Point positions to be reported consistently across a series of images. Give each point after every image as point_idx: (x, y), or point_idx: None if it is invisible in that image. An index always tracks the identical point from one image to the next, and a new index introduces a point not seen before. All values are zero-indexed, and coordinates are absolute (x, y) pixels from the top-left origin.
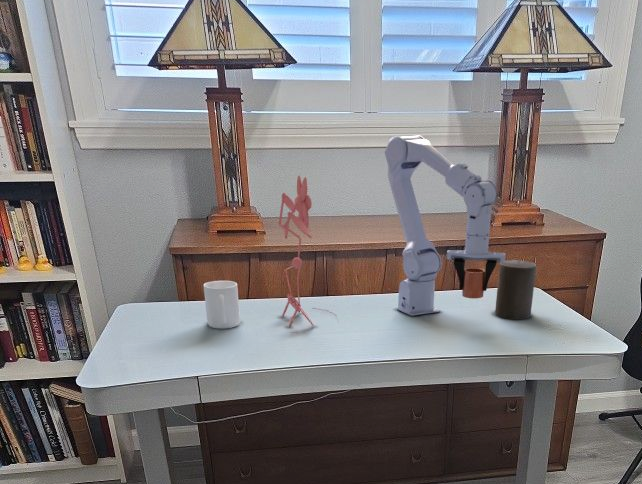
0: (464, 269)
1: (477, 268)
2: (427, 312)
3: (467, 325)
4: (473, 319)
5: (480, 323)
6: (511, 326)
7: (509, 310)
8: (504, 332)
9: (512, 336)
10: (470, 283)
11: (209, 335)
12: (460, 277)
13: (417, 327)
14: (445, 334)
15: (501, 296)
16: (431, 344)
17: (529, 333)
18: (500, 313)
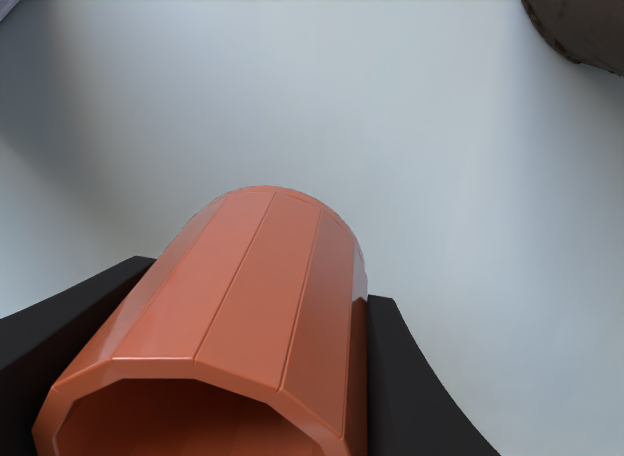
0: (38, 448)
1: (230, 388)
2: (3, 13)
3: None
4: (325, 98)
5: (364, 181)
6: (549, 223)
7: (618, 72)
8: (476, 322)
9: (501, 372)
10: (211, 436)
11: None
12: None
13: (47, 273)
14: None
15: (603, 17)
16: None
17: (612, 331)
18: (542, 18)
